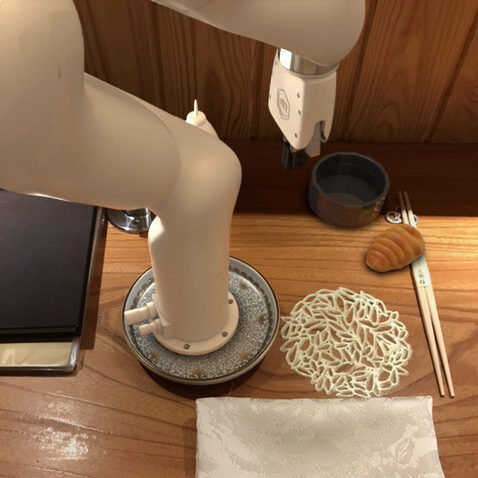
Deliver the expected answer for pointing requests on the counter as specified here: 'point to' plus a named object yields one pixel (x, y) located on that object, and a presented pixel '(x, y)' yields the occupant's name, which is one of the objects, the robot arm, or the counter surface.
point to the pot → (348, 189)
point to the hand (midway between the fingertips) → (293, 165)
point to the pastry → (395, 248)
